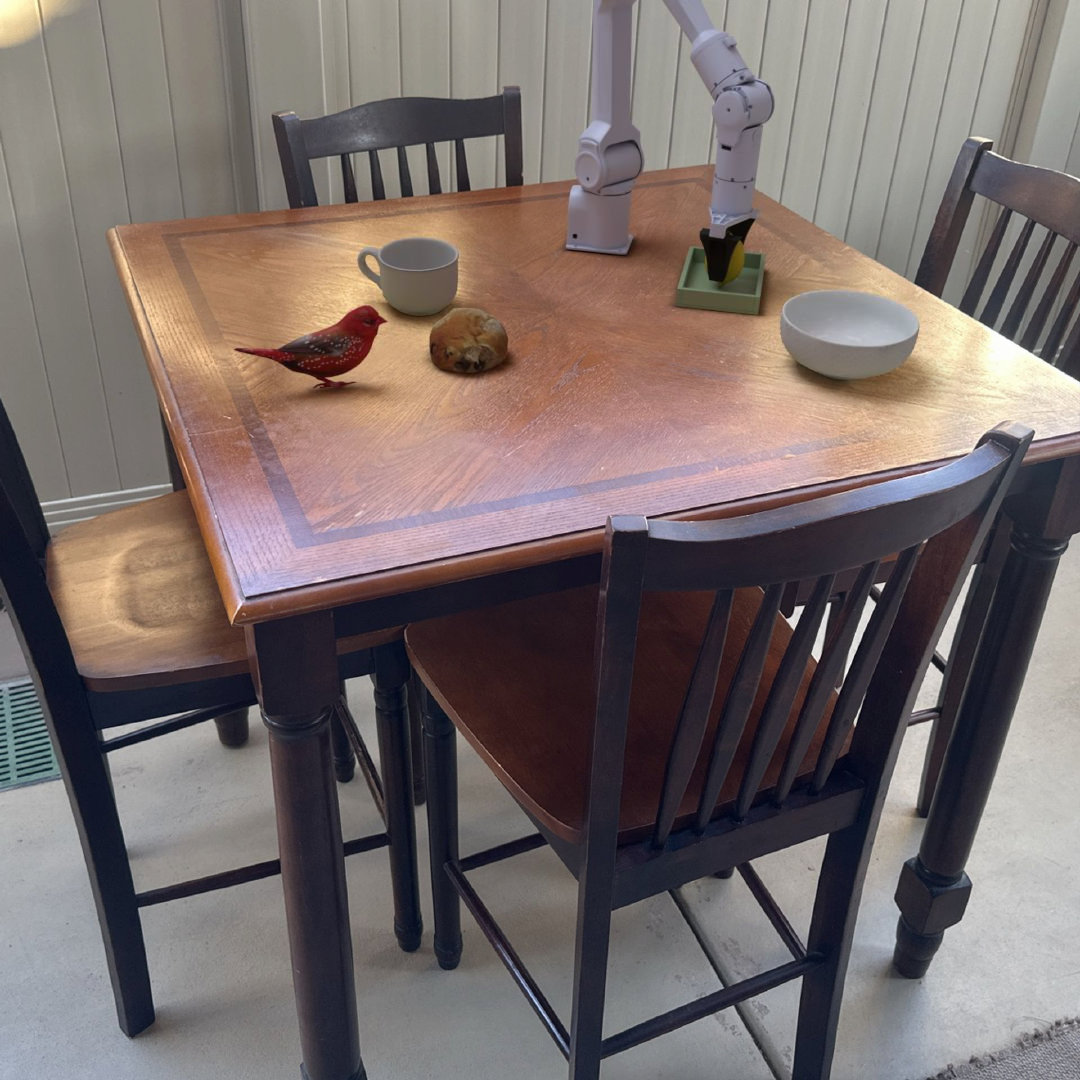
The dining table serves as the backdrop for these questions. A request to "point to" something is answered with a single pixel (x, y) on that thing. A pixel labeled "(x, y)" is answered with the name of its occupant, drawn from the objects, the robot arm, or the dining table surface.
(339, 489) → the dining table surface
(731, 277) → the lemon
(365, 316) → the decorative bird figurine
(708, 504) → the dining table surface
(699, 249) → the tray
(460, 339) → the bread roll
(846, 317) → the cereal bowl
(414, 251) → the teacup
